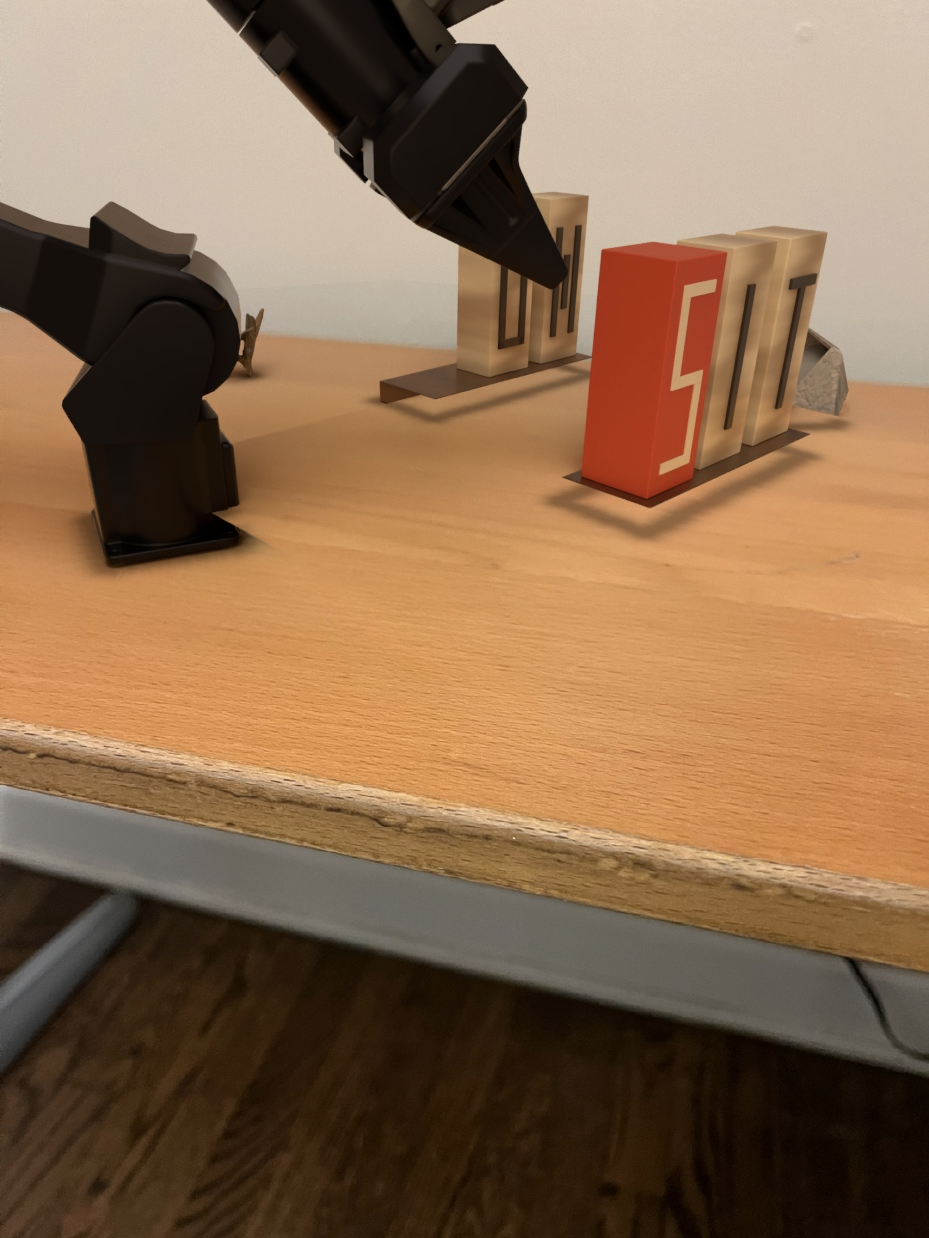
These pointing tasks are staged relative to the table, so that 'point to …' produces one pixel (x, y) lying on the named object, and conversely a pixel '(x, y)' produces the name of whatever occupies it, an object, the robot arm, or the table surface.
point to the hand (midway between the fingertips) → (532, 264)
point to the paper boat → (821, 376)
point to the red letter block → (650, 364)
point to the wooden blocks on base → (510, 314)
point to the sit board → (750, 351)
